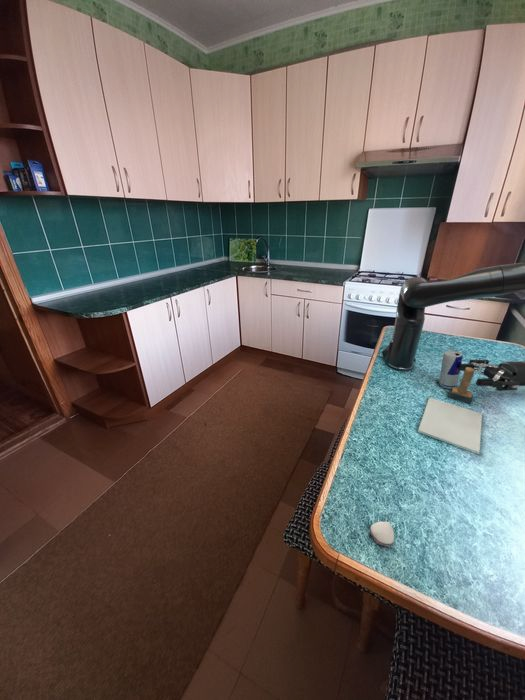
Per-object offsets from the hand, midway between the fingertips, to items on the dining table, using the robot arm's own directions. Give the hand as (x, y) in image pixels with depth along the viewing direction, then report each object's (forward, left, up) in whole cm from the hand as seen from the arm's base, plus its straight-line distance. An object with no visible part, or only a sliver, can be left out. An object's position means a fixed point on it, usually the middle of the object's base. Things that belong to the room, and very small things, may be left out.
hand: (467, 374), depth 89 cm
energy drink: (-4, +6, -9) cm, 12 cm away
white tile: (-1, -15, -9) cm, 17 cm away
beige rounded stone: (-8, -58, -9) cm, 59 cm away
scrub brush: (0, 0, -9) cm, 9 cm away
